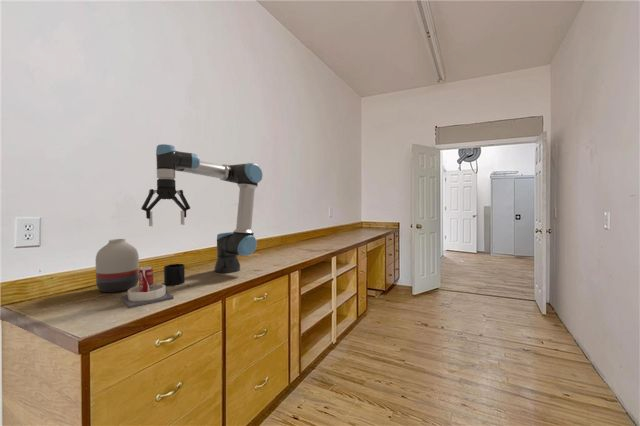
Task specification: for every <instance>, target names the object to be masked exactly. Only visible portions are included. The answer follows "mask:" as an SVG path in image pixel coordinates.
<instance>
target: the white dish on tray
mask: <svg viewBox="0 0 640 426" xmlns="http://www.w3.org/2000/svg"><path fill="white" fill-rule="evenodd" d="M166 286H167V285H165V284H164V283H153V288H154V291H149V292H139V285H136V286H135V287H133V288H130V289H129V290H127V294H126V295H121V300H122V301H123V303H125V304H126V305H127V306H128V307H129V308H137V307H141V306H146V305H151V304H154V303H159V302H164V301H169V300H172V299H173V300H174V295H172V294H170V293H169V292H168V291H166V289H167V287H166Z"/></svg>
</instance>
